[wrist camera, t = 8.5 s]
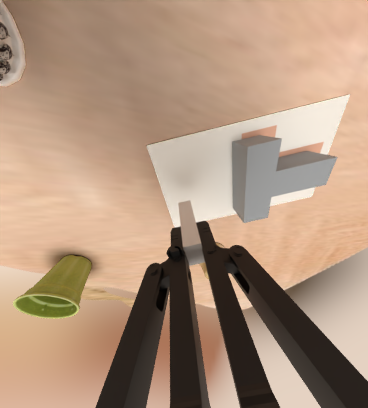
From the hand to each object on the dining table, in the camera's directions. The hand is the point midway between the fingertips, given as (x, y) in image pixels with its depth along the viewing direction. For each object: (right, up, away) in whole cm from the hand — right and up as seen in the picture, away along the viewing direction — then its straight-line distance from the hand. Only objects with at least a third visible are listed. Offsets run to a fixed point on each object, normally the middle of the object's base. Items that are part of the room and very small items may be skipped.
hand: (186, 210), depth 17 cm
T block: (+14, +6, +6) cm, 16 cm away
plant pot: (-25, -13, +14) cm, 31 cm away
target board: (+10, +6, +6) cm, 13 cm away
